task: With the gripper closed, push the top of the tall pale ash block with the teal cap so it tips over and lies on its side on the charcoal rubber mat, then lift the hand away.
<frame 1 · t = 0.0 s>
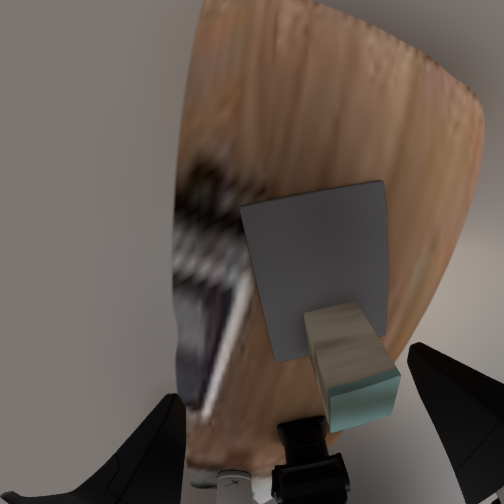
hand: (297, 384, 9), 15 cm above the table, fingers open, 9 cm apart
travel mug: (233, 474, 39), on the table
mat: (325, 280, 24), on the table
ash block: (331, 327, 25), point 1 cm above the table, touching mat
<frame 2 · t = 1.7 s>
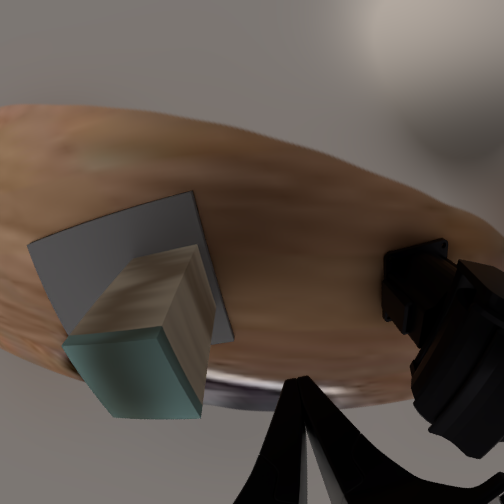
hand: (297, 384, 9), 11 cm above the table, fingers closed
mat: (120, 290, 20), on the table
ash block: (174, 283, 19), point 1 cm above the table, touching mat
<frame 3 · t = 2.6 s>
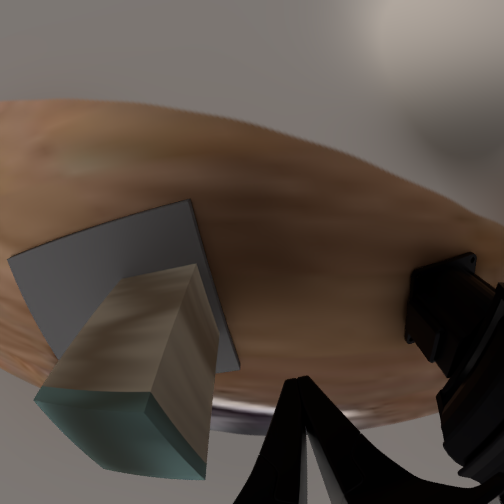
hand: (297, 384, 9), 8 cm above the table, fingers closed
mat: (109, 312, 17), on the table
ash block: (170, 307, 16), point 1 cm above the table, touching mat
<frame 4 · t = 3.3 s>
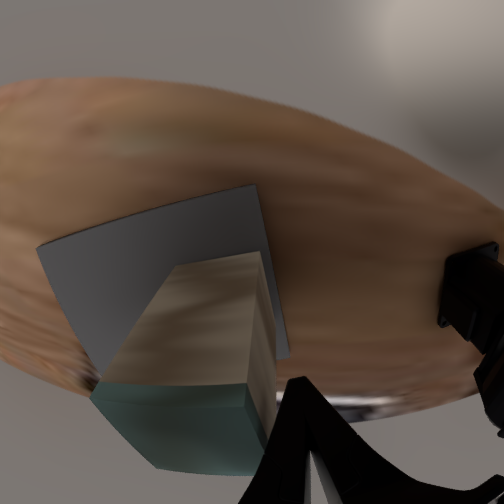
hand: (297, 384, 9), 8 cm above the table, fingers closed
mat: (155, 303, 17), on the table
ash block: (226, 296, 16), point 1 cm above the table, touching gripper, mat
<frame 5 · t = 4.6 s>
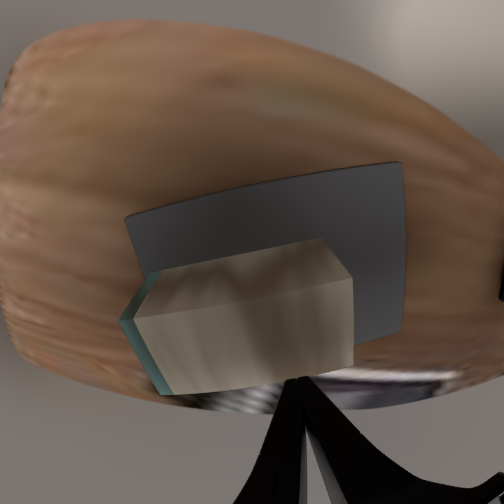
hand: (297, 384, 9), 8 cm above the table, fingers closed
mat: (283, 281, 17), on the table
ash block: (338, 298, 14), point 3 cm above the table, tilted 90°, touching mat
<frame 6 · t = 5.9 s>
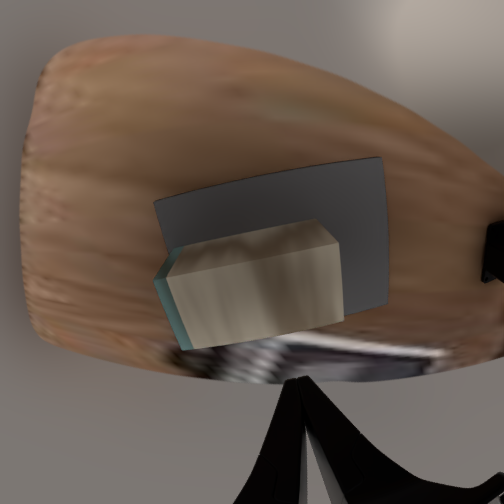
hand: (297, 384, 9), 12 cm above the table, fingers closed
mat: (285, 256, 20), on the table
ash block: (330, 266, 17), point 3 cm above the table, tilted 90°, touching mat
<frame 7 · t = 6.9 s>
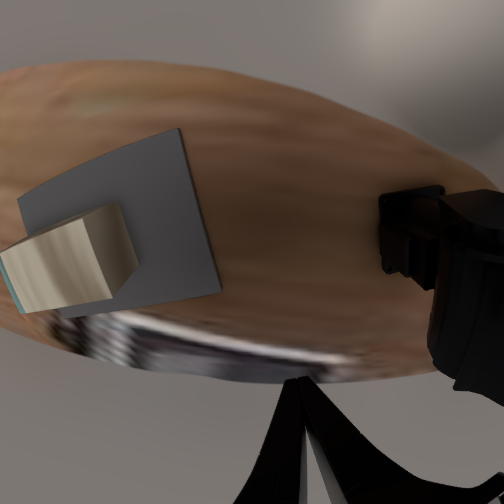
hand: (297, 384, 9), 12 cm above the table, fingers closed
mat: (104, 238, 19), on the table
ash block: (114, 244, 16), point 3 cm above the table, tilted 90°, touching mat
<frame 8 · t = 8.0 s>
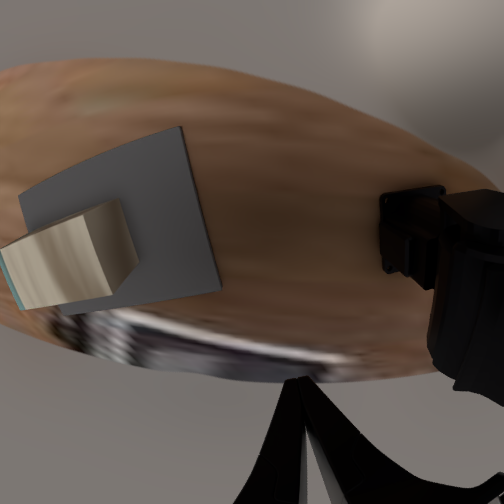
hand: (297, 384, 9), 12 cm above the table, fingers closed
mat: (105, 235, 19), on the table
ash block: (114, 241, 16), point 3 cm above the table, tilted 90°, touching mat
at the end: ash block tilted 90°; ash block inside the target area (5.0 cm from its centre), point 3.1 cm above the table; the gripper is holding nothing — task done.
